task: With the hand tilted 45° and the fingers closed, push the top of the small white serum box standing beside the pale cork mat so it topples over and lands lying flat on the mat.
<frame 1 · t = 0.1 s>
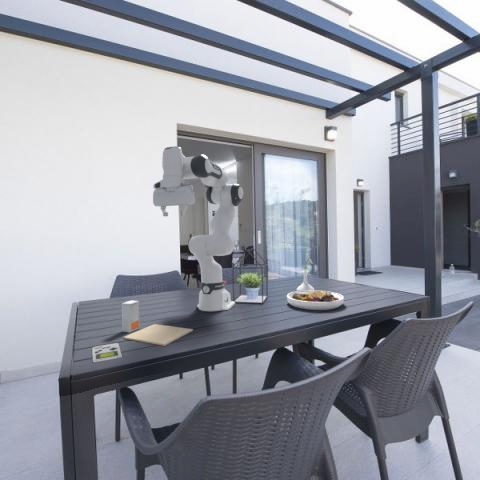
hand: (174, 216, 137), 48 cm above the table, tool pointing down, fingers open, 8 cm apart
handheld gaming device: (106, 353, 109), on the table
skincare box: (131, 330, 133), on the table
flower in vase: (305, 292, 204), on the table
bowl: (314, 305, 171), on the table
mat: (159, 334, 126), on the table
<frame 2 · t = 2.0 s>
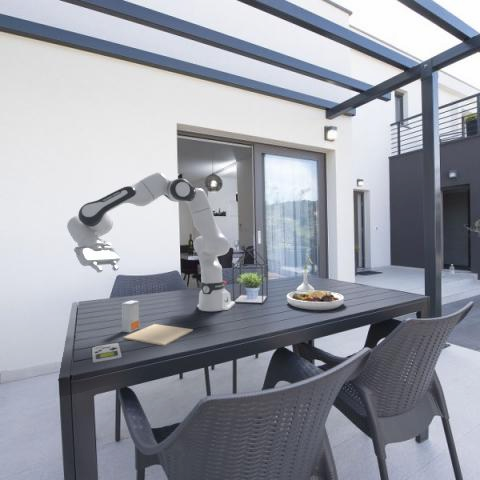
hand: (108, 270, 136), 25 cm above the table, tool tilted 45°, fingers open, 8 cm apart
nothing on the table moved.
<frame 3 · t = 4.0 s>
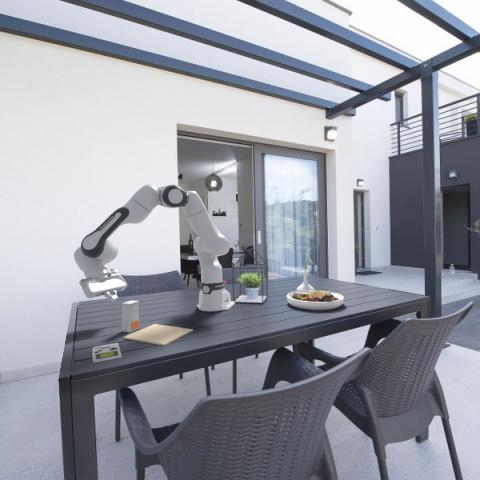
hand: (115, 300, 136), 12 cm above the table, tool tilted 45°, fingers closed
nothing on the table moved.
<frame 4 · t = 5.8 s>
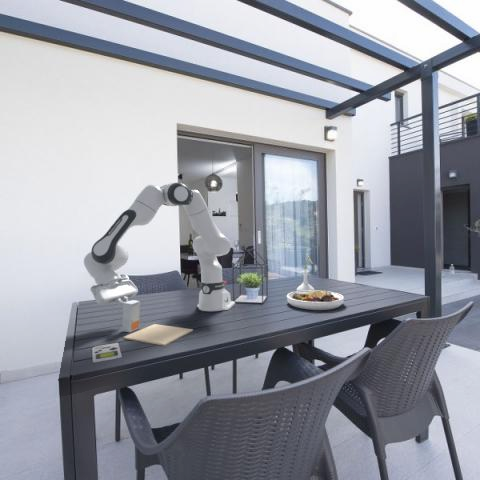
hand: (126, 306, 134), 10 cm above the table, tool tilted 45°, fingers closed
skincare box: (131, 330, 133), on the table, touching gripper
everything else where it was.
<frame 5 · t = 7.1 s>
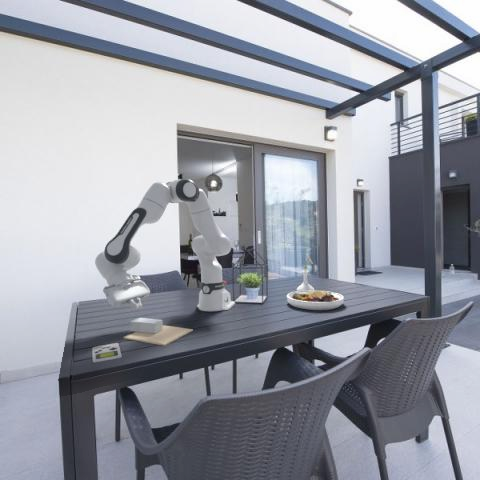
hand: (139, 308, 130), 10 cm above the table, tool tilted 45°, fingers closed
skincare box: (134, 324, 132), point 3 cm above the table, touching mat
everything else where it was.
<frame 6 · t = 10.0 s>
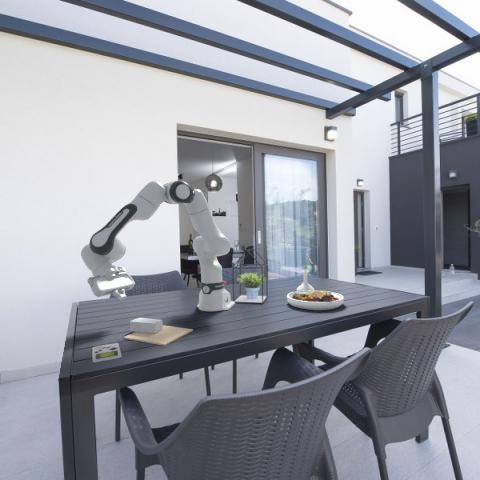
hand: (123, 298, 134), 13 cm above the table, tool tilted 45°, fingers closed
nothing on the table moved.
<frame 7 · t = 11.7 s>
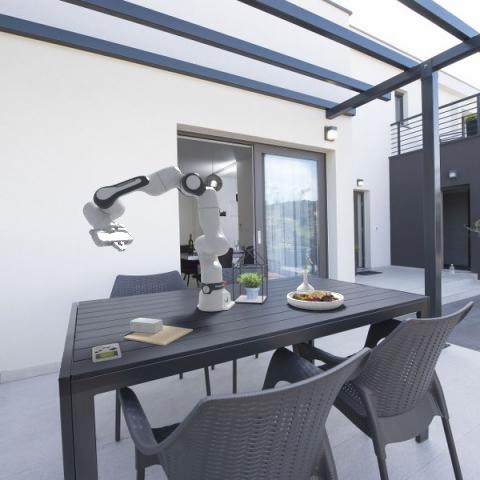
hand: (122, 250, 144), 33 cm above the table, tool tilted 45°, fingers closed
nothing on the table moved.
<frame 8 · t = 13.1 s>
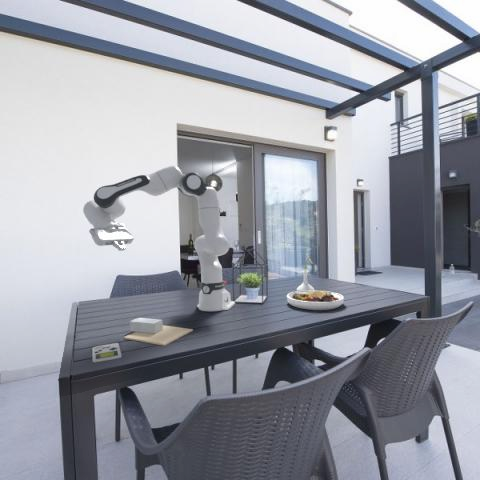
hand: (122, 249, 144), 33 cm above the table, tool tilted 45°, fingers closed
nothing on the table moved.
at the end: skincare box tilted 90°; skincare box inside the target area (12.8 cm from its centre), point 2.7 cm above the table; the gripper is holding nothing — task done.
